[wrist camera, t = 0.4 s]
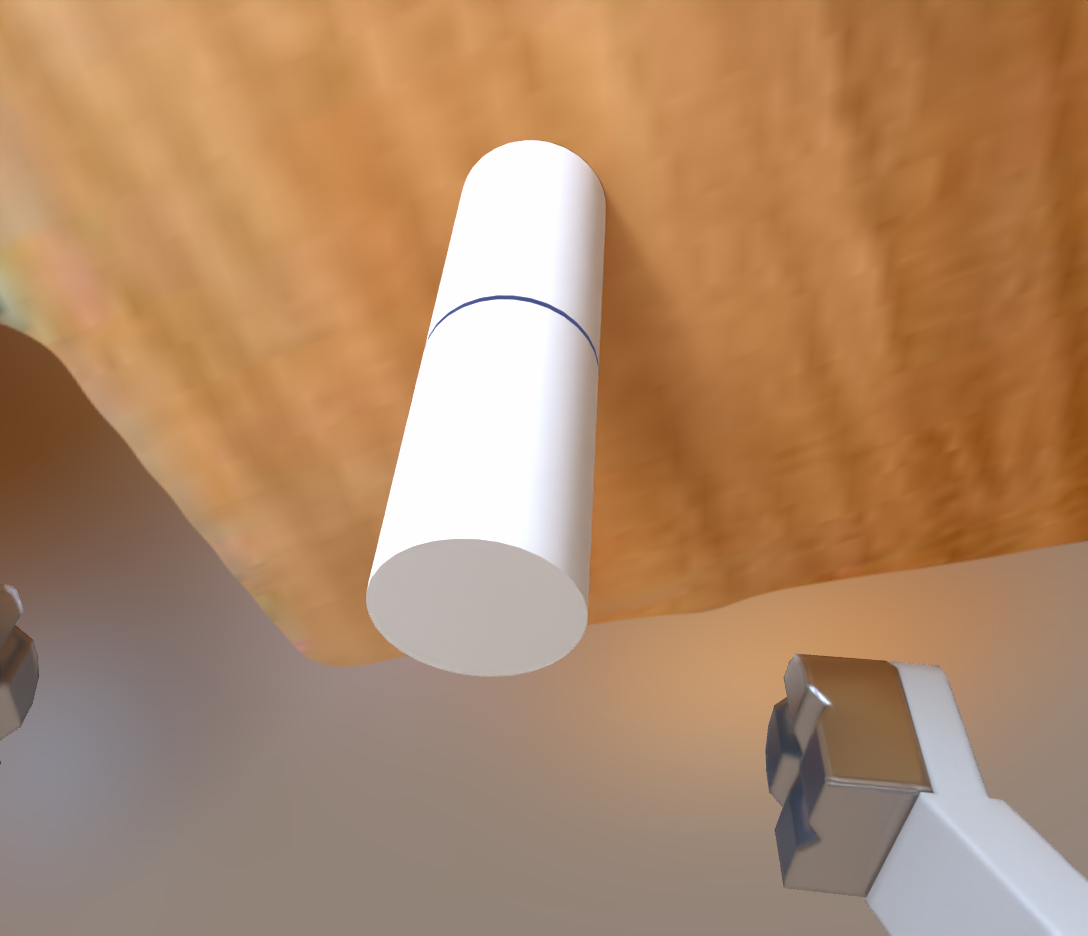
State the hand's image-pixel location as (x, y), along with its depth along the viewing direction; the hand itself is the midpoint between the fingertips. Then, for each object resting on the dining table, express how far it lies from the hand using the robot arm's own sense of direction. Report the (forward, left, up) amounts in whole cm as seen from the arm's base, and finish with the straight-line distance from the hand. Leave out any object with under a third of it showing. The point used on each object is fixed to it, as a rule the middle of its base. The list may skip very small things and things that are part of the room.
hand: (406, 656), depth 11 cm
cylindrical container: (+17, -3, -39) cm, 43 cm away
